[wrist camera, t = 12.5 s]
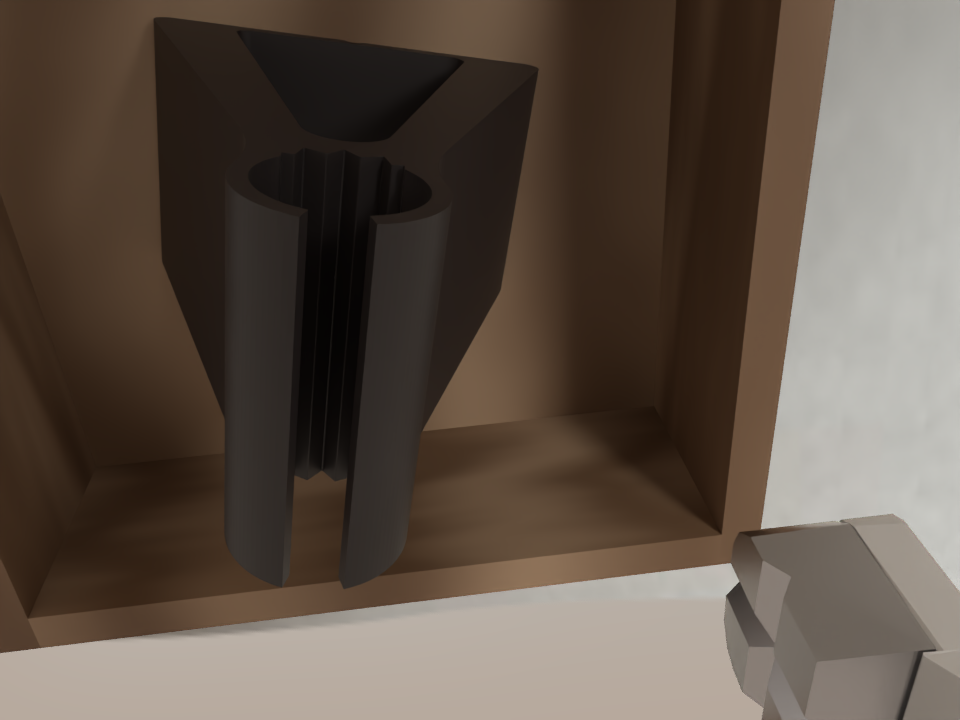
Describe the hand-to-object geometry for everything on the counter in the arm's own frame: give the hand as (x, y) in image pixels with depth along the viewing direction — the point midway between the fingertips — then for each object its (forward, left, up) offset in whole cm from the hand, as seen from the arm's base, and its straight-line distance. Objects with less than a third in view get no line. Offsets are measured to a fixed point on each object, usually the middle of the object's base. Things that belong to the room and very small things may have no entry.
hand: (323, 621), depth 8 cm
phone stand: (0, 0, -16) cm, 16 cm away
